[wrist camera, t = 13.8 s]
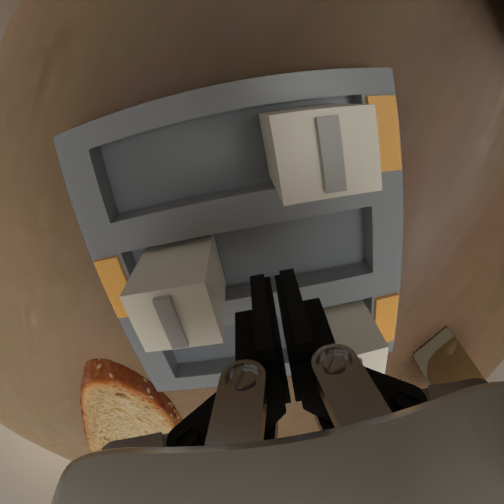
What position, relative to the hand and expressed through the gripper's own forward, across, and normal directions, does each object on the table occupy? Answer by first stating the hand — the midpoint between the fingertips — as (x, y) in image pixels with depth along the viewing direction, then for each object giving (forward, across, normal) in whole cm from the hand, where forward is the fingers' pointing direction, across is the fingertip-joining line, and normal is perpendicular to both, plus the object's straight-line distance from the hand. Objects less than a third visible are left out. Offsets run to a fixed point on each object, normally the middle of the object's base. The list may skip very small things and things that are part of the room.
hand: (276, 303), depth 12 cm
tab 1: (+6, +5, +1) cm, 8 cm away
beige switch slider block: (+7, -3, -5) cm, 9 cm away
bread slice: (+8, +18, +20) cm, 28 cm away
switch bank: (+8, +1, +1) cm, 8 cm away
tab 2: (+6, -4, +7) cm, 10 cm away
